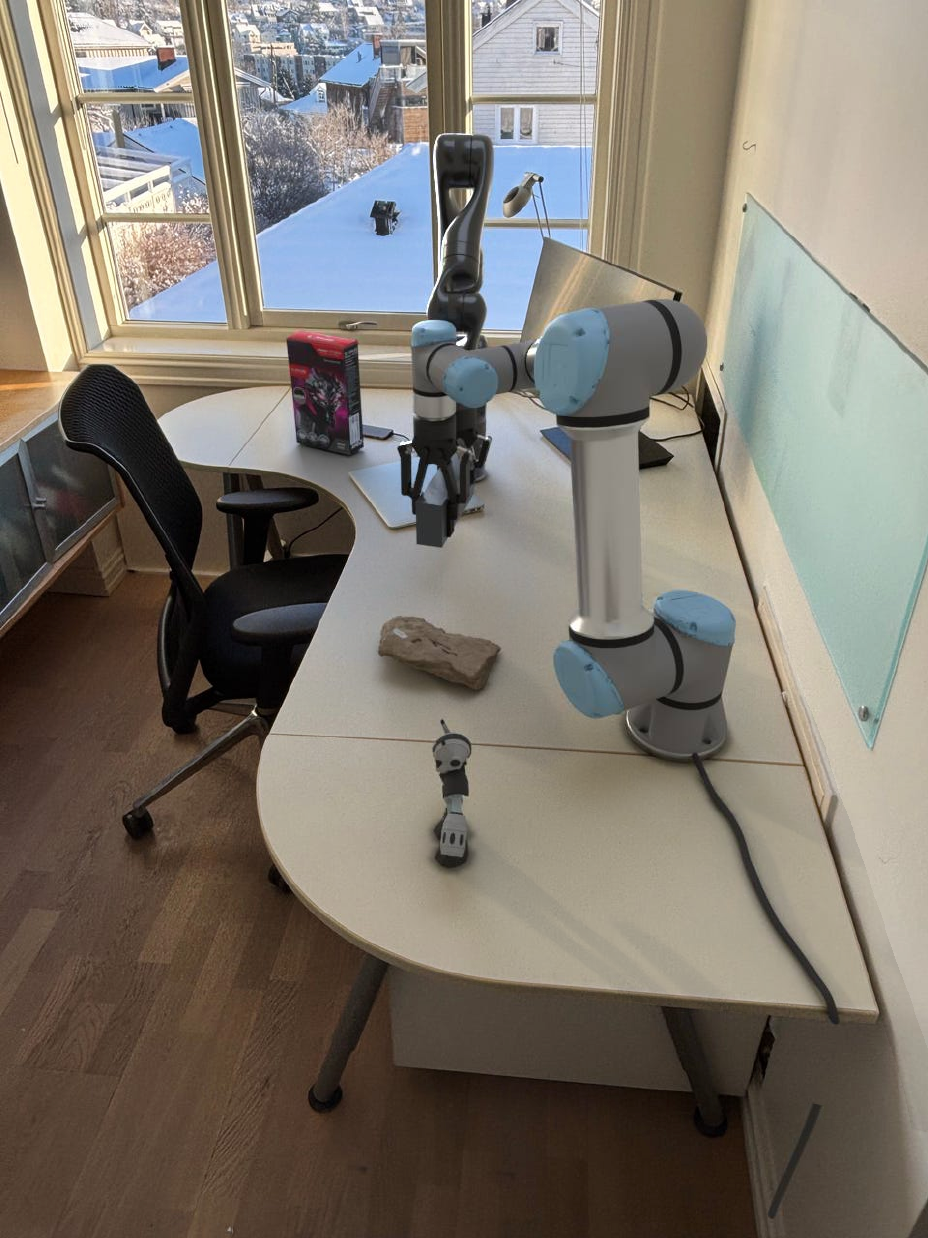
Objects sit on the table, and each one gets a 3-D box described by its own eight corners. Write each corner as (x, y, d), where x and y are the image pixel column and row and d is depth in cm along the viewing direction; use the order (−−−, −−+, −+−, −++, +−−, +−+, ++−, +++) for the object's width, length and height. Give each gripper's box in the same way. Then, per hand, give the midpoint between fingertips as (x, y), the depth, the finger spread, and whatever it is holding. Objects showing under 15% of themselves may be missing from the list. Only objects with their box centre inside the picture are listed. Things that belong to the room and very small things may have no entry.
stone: (354, 663, 151) (360, 631, 149) (385, 632, 165) (392, 602, 162) (474, 706, 148) (483, 673, 145) (496, 671, 161) (504, 640, 159)
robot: (474, 902, 115) (476, 785, 104) (435, 903, 115) (433, 787, 104) (466, 791, 132) (467, 679, 120) (432, 792, 131) (430, 680, 120)
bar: (442, 548, 169) (441, 505, 164) (416, 544, 170) (415, 502, 166) (474, 493, 188) (474, 453, 183) (450, 490, 189) (450, 451, 184)
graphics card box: (294, 443, 234) (283, 336, 218) (310, 434, 239) (300, 328, 224) (350, 457, 227) (343, 347, 212) (366, 447, 232) (360, 339, 217)
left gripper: (498, 397, 174) (496, 479, 184) (426, 390, 178) (427, 471, 187) (488, 412, 168) (486, 496, 178) (414, 403, 172) (416, 486, 181)
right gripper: (490, 411, 161) (487, 529, 174) (392, 400, 165) (396, 516, 178) (479, 427, 155) (477, 547, 168) (378, 415, 159) (383, 534, 172)
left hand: (456, 482), depth 183 cm, fingers closed on bar, 5 cm apart
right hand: (435, 531), depth 173 cm, fingers closed on bar, 5 cm apart
